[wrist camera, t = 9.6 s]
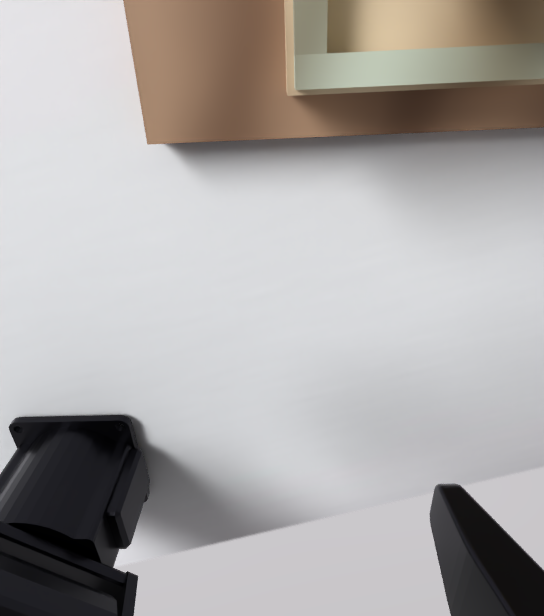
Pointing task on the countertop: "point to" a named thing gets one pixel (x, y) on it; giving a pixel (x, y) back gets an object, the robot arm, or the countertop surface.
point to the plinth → (335, 67)
